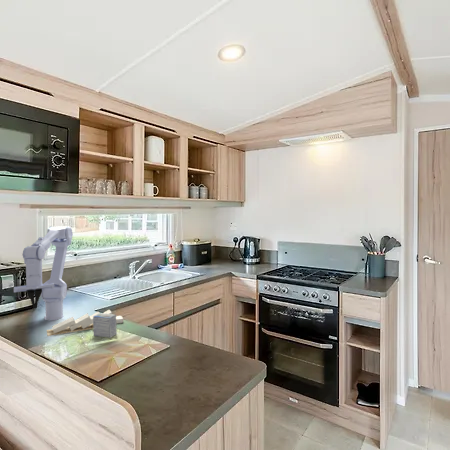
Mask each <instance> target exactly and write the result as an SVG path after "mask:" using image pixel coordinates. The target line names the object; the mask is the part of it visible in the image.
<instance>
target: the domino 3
mask: <svg viewBox="0 0 450 450" xmlns="http://www.w3.org/2000/svg"><path fill="white" fill-rule="evenodd" d="M97 314H100V312H99V311H96V312H95V313H93V314H91V315H89V316H90V318H91V320H90V321H88V322H86V323H85V324H83V325H81V326H82V328H83V329H84V328H86V327H87V326H89V325H91V324H93V316H95V315H97Z"/></svg>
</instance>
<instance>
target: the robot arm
mask: <svg viewBox="0 0 450 450" xmlns="http://www.w3.org/2000/svg"><path fill="white" fill-rule="evenodd" d="M72 229H73V228H72V227H71V226H52V225H51V226H49V227H48V228H47V232H46V234H45V235H44V236H43V237H42V236H41V237H38V239H37V240H36V241H35V242H33V243H32V244H31V245H27V246H26V247H24V248H23V251H22V253H21V254H22V255H21V256H22V258H23V263H24V265H25V276H26V277H25V278H26V279H25V282H26V285H21V286H20V285H18V286H14V287H13V293H14V294H15V293H20V292H21V293H22V292H26V294H27V296H28V297H29V299H30V301H31V304H32V309H37V308H38V303H39V301H40V300H39V299H40V298H41V300H43V302H45V306H44V307H45V316H43V317H44V320H45V321H57V320H61V319H63V318H65V315H64V305H63V304H64V302H63V301H64V300H65V298H66V297H67V294H68V290H67V289H68V284H67V283H66V282H65V281H64V280H63V274H64V268H65V263H66V257H67V252H68V247H69V246H71V245H72V241H73V240H72V239H73V230H72ZM51 246H55V250H54V251H55V252H54V257H53V262H52V267H51V272H50V278H49V279H48V280H46V281H45V282H44V283H43V259H44V258H45V256H46V252H47V251H48V249H49V248H50V247H51Z"/></svg>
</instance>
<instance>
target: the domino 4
mask: <svg viewBox="0 0 450 450" xmlns="http://www.w3.org/2000/svg"><path fill="white" fill-rule="evenodd" d="M101 313H102V314H113V312H112V311H111V310H110V309H108V310H106V311H104V312H101Z"/></svg>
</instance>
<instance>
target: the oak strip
mask: <svg viewBox="0 0 450 450" xmlns="http://www.w3.org/2000/svg"><path fill="white" fill-rule="evenodd" d="M92 329H93V324H91V325H89V326H87V327H86V328H84V329H83V328H82V326H79V327H78V328H76V329H74V330H72V331H71V329H70V328H69V327H68V328H66V329H64V330H61V331H59V332H57V333H55V334H54V332H53V329H52V328H51V329H46V335H47V337H51V336H57V335H62V334H63V335H64V334H70V333H75V332H82V331H87V330H92Z"/></svg>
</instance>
